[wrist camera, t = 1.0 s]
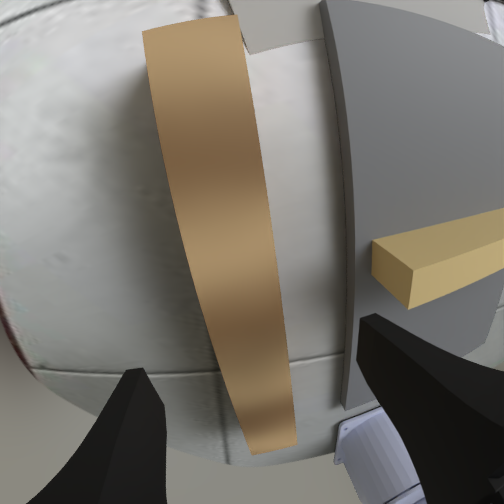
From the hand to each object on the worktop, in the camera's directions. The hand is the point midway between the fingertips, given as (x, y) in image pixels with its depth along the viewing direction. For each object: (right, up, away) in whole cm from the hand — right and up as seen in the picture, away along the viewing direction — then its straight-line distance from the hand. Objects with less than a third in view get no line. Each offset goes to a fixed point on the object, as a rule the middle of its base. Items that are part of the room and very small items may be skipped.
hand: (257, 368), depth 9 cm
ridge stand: (+13, +5, +7) cm, 15 cm away
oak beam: (-1, +2, +6) cm, 7 cm away
